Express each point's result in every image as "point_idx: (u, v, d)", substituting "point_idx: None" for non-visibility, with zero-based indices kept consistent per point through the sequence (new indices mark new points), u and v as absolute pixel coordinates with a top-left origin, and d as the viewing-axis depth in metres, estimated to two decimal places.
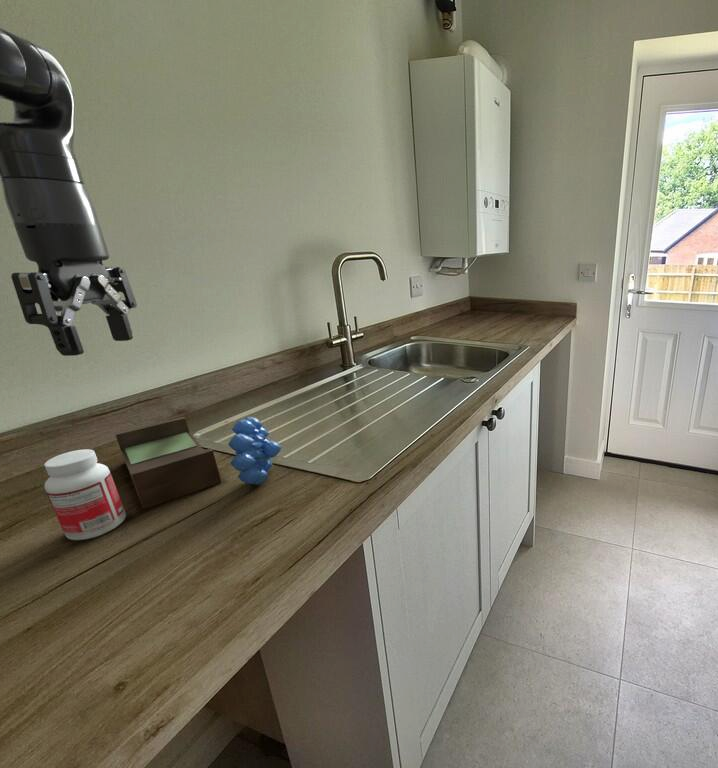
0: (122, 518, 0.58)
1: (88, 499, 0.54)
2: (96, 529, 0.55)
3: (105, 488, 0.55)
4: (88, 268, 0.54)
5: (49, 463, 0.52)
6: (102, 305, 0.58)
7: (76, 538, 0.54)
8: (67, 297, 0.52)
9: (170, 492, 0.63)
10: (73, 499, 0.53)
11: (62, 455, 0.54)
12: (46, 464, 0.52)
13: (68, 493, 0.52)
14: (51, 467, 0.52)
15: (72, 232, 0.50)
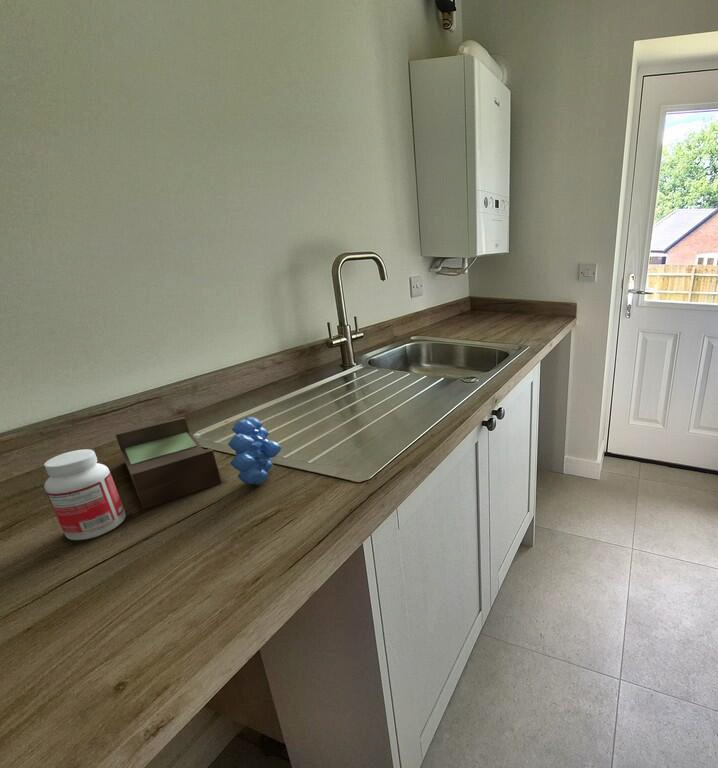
0: (122, 518, 0.58)
1: (88, 499, 0.54)
2: (96, 529, 0.55)
3: (105, 488, 0.55)
4: None
5: (49, 463, 0.52)
6: None
7: (76, 538, 0.54)
8: None
9: (170, 492, 0.63)
10: (73, 499, 0.53)
11: (62, 455, 0.54)
12: (46, 464, 0.52)
13: (68, 494, 0.52)
14: (51, 467, 0.52)
15: None
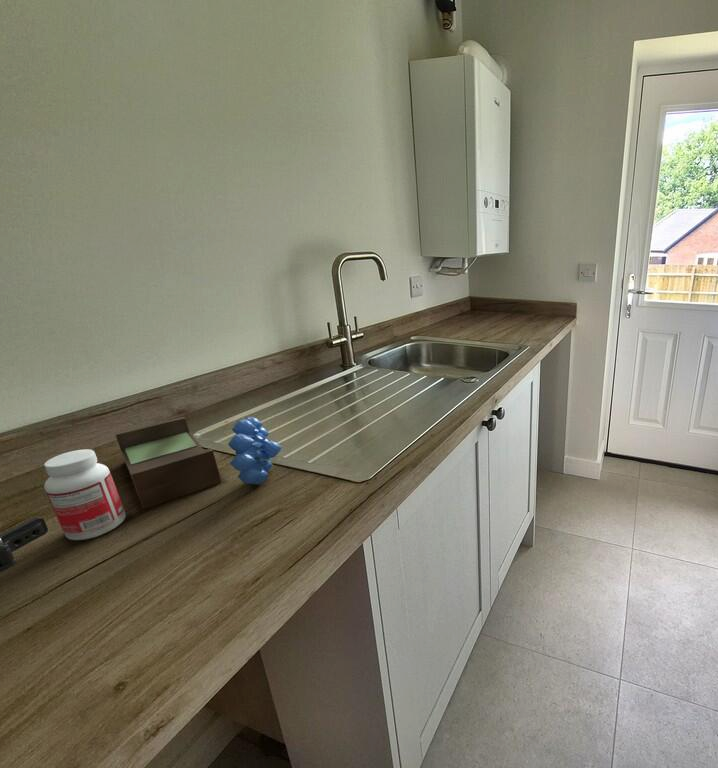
0: (121, 518, 0.58)
1: (88, 499, 0.54)
2: (96, 529, 0.55)
3: (105, 488, 0.55)
4: None
5: (49, 463, 0.52)
6: None
7: (76, 538, 0.54)
8: None
9: (170, 492, 0.63)
10: (73, 499, 0.53)
11: (62, 455, 0.54)
12: (46, 464, 0.52)
13: (68, 494, 0.52)
14: (51, 467, 0.52)
15: None
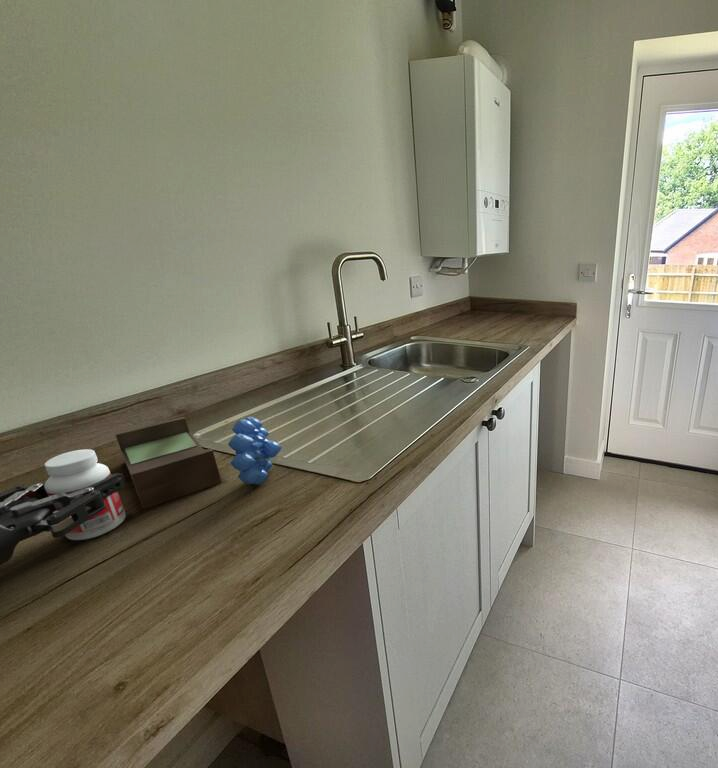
0: (121, 518, 0.58)
1: None
2: (96, 529, 0.55)
3: None
4: None
5: (49, 463, 0.52)
6: None
7: (76, 538, 0.54)
8: None
9: (170, 492, 0.63)
10: None
11: (62, 455, 0.54)
12: (46, 464, 0.52)
13: (68, 493, 0.52)
14: (51, 467, 0.52)
15: None
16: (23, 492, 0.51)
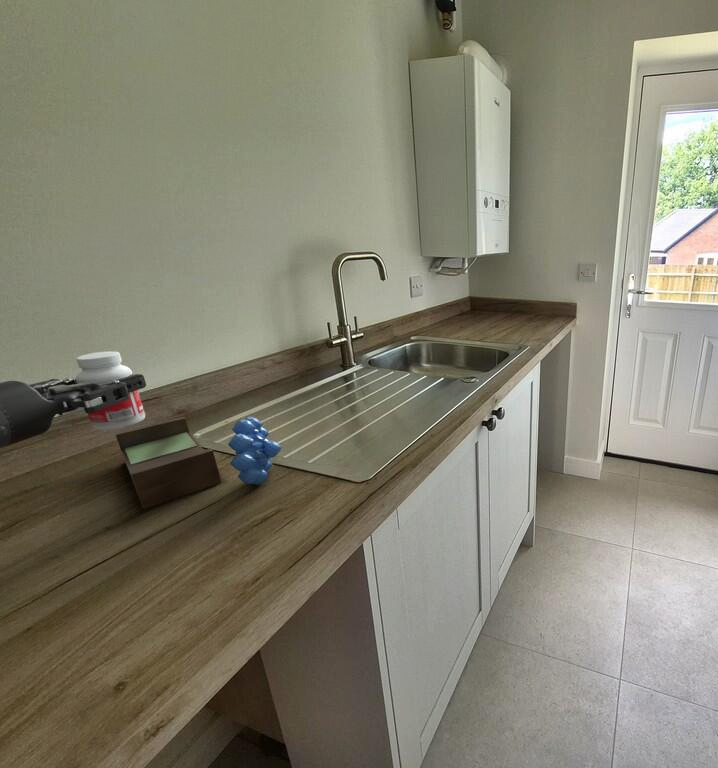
0: (142, 416, 0.64)
1: None
2: (120, 421, 0.62)
3: None
4: None
5: (80, 357, 0.59)
6: None
7: (102, 428, 0.61)
8: None
9: (170, 492, 0.63)
10: None
11: (91, 354, 0.61)
12: (78, 358, 0.59)
13: None
14: (82, 360, 0.58)
15: None
16: (58, 381, 0.58)
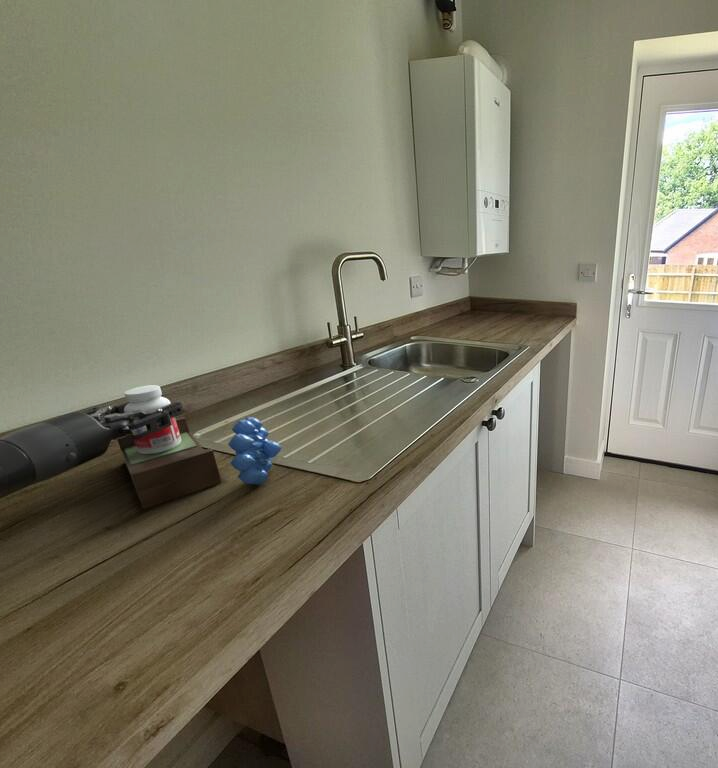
0: (179, 441, 0.74)
1: None
2: (161, 446, 0.71)
3: None
4: None
5: (128, 392, 0.68)
6: None
7: (146, 452, 0.70)
8: None
9: (170, 492, 0.63)
10: None
11: (136, 388, 0.70)
12: (126, 393, 0.68)
13: None
14: (130, 394, 0.68)
15: None
16: (104, 409, 0.67)
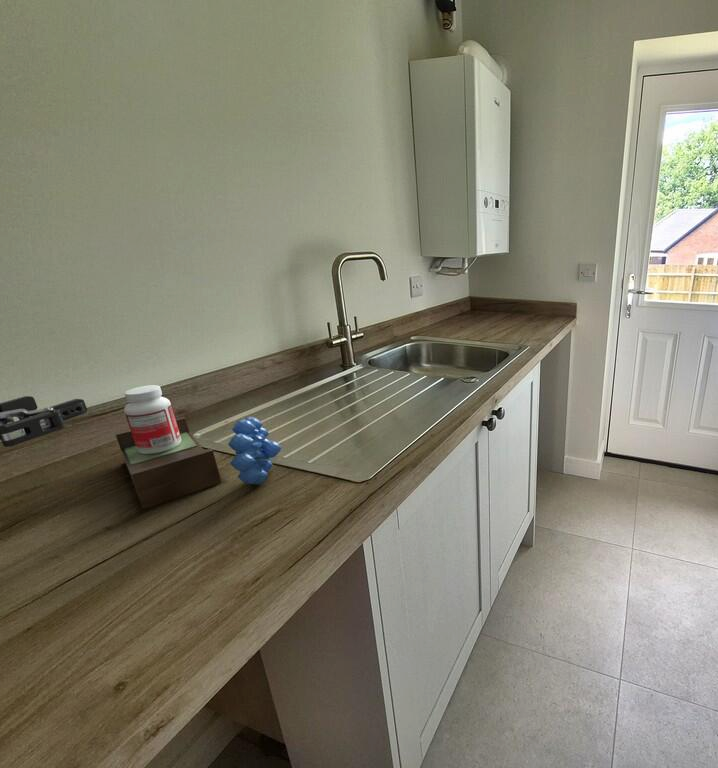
0: (179, 441, 0.74)
1: (156, 421, 0.70)
2: (161, 446, 0.71)
3: (168, 415, 0.72)
4: None
5: (128, 392, 0.68)
6: None
7: (146, 452, 0.70)
8: None
9: (170, 492, 0.63)
10: (146, 421, 0.69)
11: (136, 388, 0.70)
12: (126, 393, 0.68)
13: (143, 415, 0.68)
14: (130, 394, 0.68)
15: None
16: None
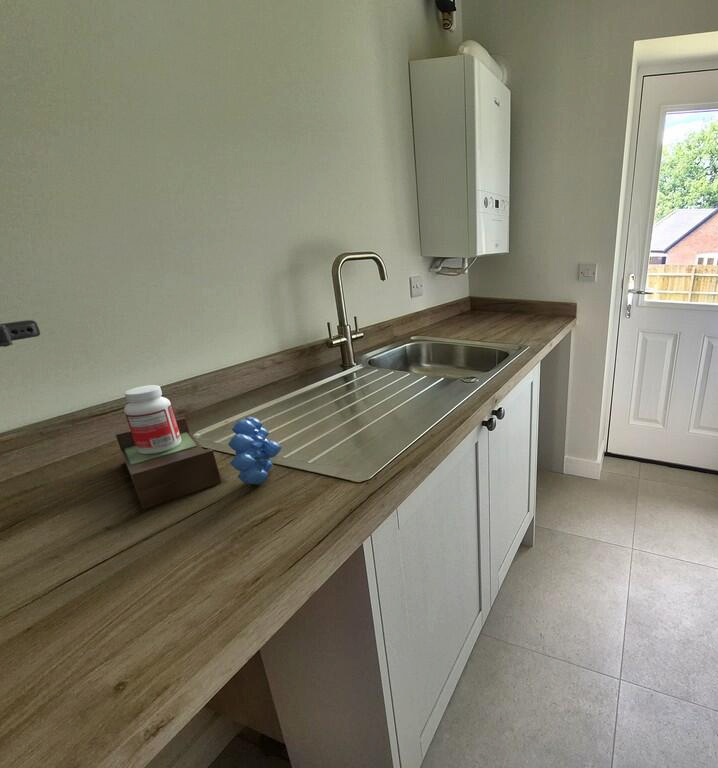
0: (179, 441, 0.74)
1: (156, 421, 0.70)
2: (161, 446, 0.71)
3: (168, 415, 0.72)
4: None
5: (128, 392, 0.68)
6: None
7: (146, 452, 0.70)
8: None
9: (170, 492, 0.63)
10: (146, 421, 0.69)
11: (136, 388, 0.70)
12: (126, 393, 0.68)
13: (143, 415, 0.68)
14: (130, 394, 0.68)
15: None
16: None
